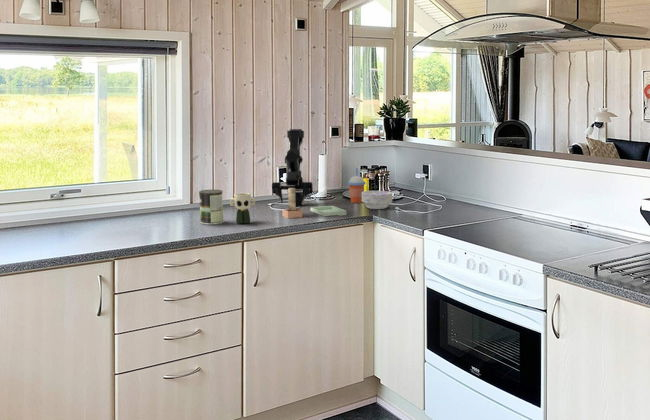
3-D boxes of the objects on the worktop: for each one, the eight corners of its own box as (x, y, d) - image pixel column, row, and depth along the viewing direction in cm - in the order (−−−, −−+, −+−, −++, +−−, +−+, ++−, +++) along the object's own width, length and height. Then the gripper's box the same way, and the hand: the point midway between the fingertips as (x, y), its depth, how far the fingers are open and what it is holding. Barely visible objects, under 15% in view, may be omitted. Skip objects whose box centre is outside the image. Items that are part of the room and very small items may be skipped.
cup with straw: (365, 200, 335) (365, 166, 332) (365, 203, 326) (365, 168, 323) (348, 200, 336) (348, 166, 333) (347, 203, 327) (347, 168, 324)
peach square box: (282, 217, 292) (282, 209, 291) (296, 215, 295) (296, 208, 294) (287, 219, 286) (287, 212, 285) (302, 218, 289) (302, 210, 288)
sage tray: (310, 211, 304) (310, 207, 304) (332, 209, 309) (332, 205, 309) (323, 217, 290) (323, 212, 290) (346, 215, 295) (346, 210, 295)
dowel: (287, 216, 291) (287, 188, 289) (294, 215, 292) (293, 187, 290) (290, 217, 288) (289, 189, 286) (296, 216, 289) (296, 188, 287)
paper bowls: (392, 205, 321) (392, 189, 319) (392, 210, 306) (392, 194, 304) (361, 205, 322) (361, 189, 320) (361, 210, 307) (361, 194, 306)
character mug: (230, 225, 275) (229, 195, 272) (230, 222, 282) (229, 193, 279) (256, 224, 276) (255, 194, 274) (255, 221, 283) (254, 192, 281)
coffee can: (199, 225, 276) (197, 193, 273) (201, 220, 286) (200, 189, 283) (222, 224, 277) (221, 192, 274) (224, 219, 287) (223, 189, 284)
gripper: (271, 165, 290) (269, 192, 281) (312, 164, 290) (311, 191, 281) (273, 179, 299) (272, 206, 290) (312, 179, 299) (312, 206, 290)
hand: (291, 202), depth 288 cm, fingers open, 9 cm apart
